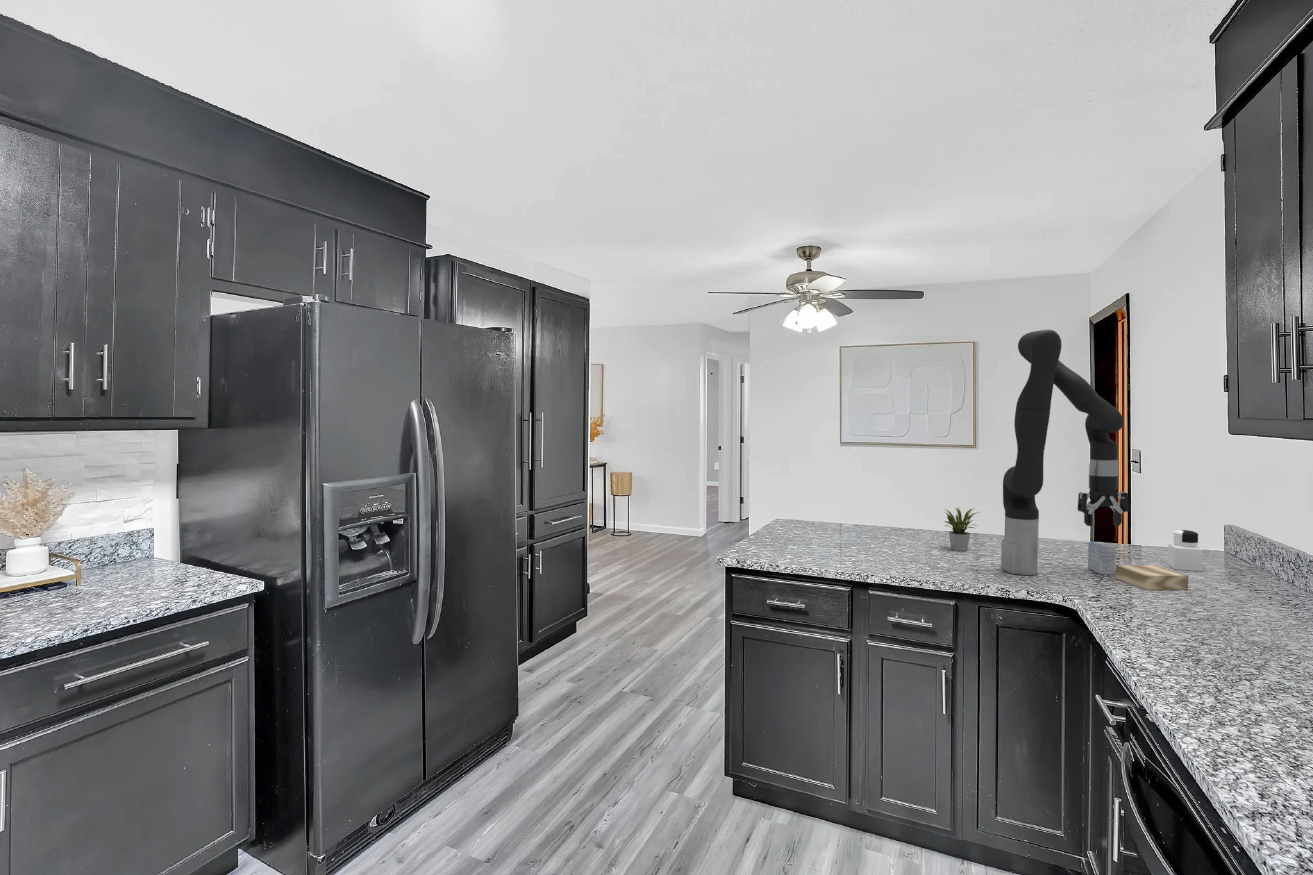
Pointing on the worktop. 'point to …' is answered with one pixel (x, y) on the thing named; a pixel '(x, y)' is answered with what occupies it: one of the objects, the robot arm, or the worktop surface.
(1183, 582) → the oak base
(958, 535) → the house plant
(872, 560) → the worktop surface
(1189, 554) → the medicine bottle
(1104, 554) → the medicine box
